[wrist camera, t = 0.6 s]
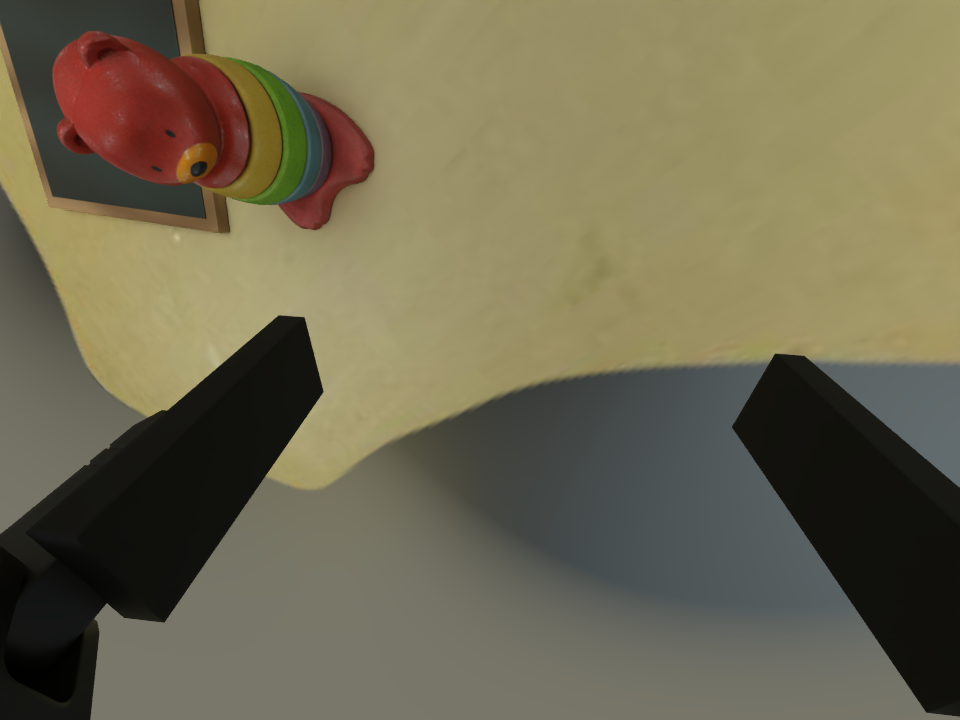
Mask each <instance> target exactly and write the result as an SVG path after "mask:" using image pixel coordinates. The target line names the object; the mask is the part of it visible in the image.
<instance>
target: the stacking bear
mask: <svg viewBox="0 0 960 720" xmlns="http://www.w3.org/2000/svg"><path fill="white" fill-rule="evenodd" d="M53 86H54V90H55V94H56V98H57V101H58V103H59V106H60V108H61V110H62V112H63V114H64V118H63V119H62V120H61V121H60V122H59V123H58V125H57V134H58V137H59V139H60V141H61V143H62V144H63V145H64V146H65V147H66V148H68V149H69V150H70V151H72V152H74V153H77V154H92V153H97V154H98V155H99V156H101V157H102V158H103V159H105V160H106V161H108V162H109V163H111V164H112V165H114V166H115V167H117V168H119V169H121V170H123V171H125V172H127V173H129V174H131V175H133V176H136V177H138V178H141V179H144V180H147V181H150V182H153V183H157V184H162V185H171V186H177V185H183V184H188V183H192V182H193V183H195V184H197V185H198V186H200V187H202V188H204V189H206V190H209V191H211V192H214V193H217V194H220V195H223V196H227V197H230V198H232V199H235V200H239V201H243V202H247V203H252V204H258V205H276V204H278V205H279V206H280V208H281V209H282V210H283V211H284V213H285V214H286V215H287V216H288V217H289V218H290V219H291V220H292V221H293V222H294V223H295V224H296V225H297V226H299V227H301V228H304V229H313V230H317V229H319V228H320V227H321V226H322V225H323V224H325V223H326V222H327V221H328V219H329V216H330V210H331V205H332V202H333V200H334V198H335V196H336V195H337V193H338V192H339V191H340V190H341V189H342V188H344V187H345V186H347V185H350V184H355V183H360V182H362V181H364V180H365V179H366V178H367V176H368V174H369V173H370V172H371V171H372V170H373V156H374V155H373V149H372V147H371V144H370V142H369V141H368V139H367V138H366V137H365V135H364V134H363V132H362V131H361V130H360V129H359V127H358V126H357V125H356V124H355V123H354V122H353V121H352V120H351V119H350V118H349V117H348V116H347V115H346V114H345V113H343V112H342V111H341V110H340V109H338V108H337V107H335V106H334V105H332V104H331V103H329V102H327V101H325V100H323V99H321V98H318V97H315V96H312V95H309V94H305V93H300V92H297V91H296V90H294V89H293V88H292V87H291V86H290V85H288V84H287V83H286V82H285V81H283V80H282V79H280V78H279V77H277V76H276V75H274V74H273V73H271V72H269V71H267V70H265V69H263V68H262V67H259V66H257V65H255V64H252V63H249V62H245V61H242V60H238V59H234V58H228V57H220V56H214V55H207V54H186V55H183V56H179V57H175V58H172V59H170V60H169V59H168V58H166V57H165V56H163V55H162V54H160V53H158V52H157V51H155V50H154V49H152V48H150V47H148V46H146V45H144V44H141V43H139V42H136V41H134V40H131V39H128V38H125V37H121V36H115V35H109V34H106V33H104V32H101V31H88V32H86V33H84V34H82V35H81V36H80V38H79V39H76V40H74V41H72V42H71V43H69V44H68V45H67V46H65V47H64V48H63V49H62V50H61V51H60V53H59V54H58V56H57V58H56V60H55V63H54V66H53Z"/></svg>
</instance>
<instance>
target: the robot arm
mask: <svg viewBox="0 0 960 720" xmlns="http://www.w3.org/2000/svg"><path fill="white" fill-rule="evenodd" d="M322 393H323V388H322V384H321V380H320V376H319V372H318V368H317V364H316V360H315V356H314V352H313V349H312V345H311V341H310V337H309V333H308V329H307V325H306V321H305V317H293V316H280V315H279V316H278V317H276V318H275V319H274V320H273V321H272V322H270V323H269V324H268V325H267V326H266V327H265V328H263V329H262V330H261V331H260V332H259V333H258V334H256V335H255V336H254V337H253V338H252V339H251V340H249V341H248V342H247V343H246V344H245V345H244V346H242V347H241V348H240V349H239V350H238V351H237V352H235V353H234V354H233V355H232V356H231V357H230V358H228V359H227V360H226V361H225V362H224V363H223V364H221V365H220V366H219V367H218V368H217V369H216V370H214V371H213V372H212V373H211V374H210V375H209V376H207V377H206V378H205V379H204V380H203V381H202V382H200V383H199V384H198V385H197V386H196V387H195V388H193V389H192V390H191V391H190V392H189V393H188V394H186V395H185V396H184V397H183V398H182V399H181V400H179V401H178V402H177V403H176V404H175V405H174V406H172V407H171V408H170V409H169V410H168V411H165V410H161V411H159V412H158V413H156V414H154V415H152V416H150V417H148V418H147V419H145V420H143V421H141V422H139V423H137V424H135V425H134V426H132V427H131V428H130V429H129V430H127V431H126V432H125V433H124V434H123V435H121V436H120V437H119V438H118V439H116V440H115V441H114V442H113V443H112V444H110V448H109V449H104V450H103V451H102V452H101V453H99V454H98V455H97V456H96V457H94V458H93V459H92V460H91V461H90V464H89V465H85V466H83V467H82V468H81V469H80V470H79V471H77V472H76V473H75V474H74V475H73V476H71V477H70V478H69V479H68V480H66V481H65V482H64V483H63V484H61V485H60V486H59V487H58V488H57V489H55V490H54V491H53V492H52V493H50V494H49V495H48V496H47V497H46V498H45V499H43V500H42V501H41V502H40V503H38V504H37V505H36V506H35V507H33V508H32V509H31V510H30V511H29V512H27V513H26V514H25V515H24V516H22V518H20V519H19V520H18V521H16V522H15V523H14V524H13V525H12V526H10V527H9V528H8V529H7V530H5V531H4V532H3V533H1V534H0V720H90V717H91V707H92V697H93V688H94V679H95V669H96V660H97V651H98V641H99V628H98V623H97V621H96V620H95V619H94V618H95V617H96V615H97V614H98V613H99V612H100V610H101V609H102V608H103V607H104V606H105V605H106V603H108V604H109V605H110V606H111V607H112V608H113V609H115V610H116V611H117V612H118V613H119V614H120V615H122V616H123V617H124V618H131V619H139V620H147V621H156V622H165V621H166V619H167V618H168V617H169V615H170V614H171V612H172V611H173V609H174V608H175V606H176V605H177V604H178V602H179V601H180V599H181V598H182V596H183V595H184V593H185V592H186V590H187V589H188V588H189V586H190V585H191V583H192V582H193V580H194V579H195V577H196V576H197V575H198V573H199V572H200V570H201V569H202V567H203V566H204V564H205V563H206V561H207V560H208V559H209V557H210V556H211V554H212V553H213V551H214V550H215V548H216V547H217V546H218V544H219V543H220V541H221V540H222V538H223V537H224V535H225V534H226V532H227V531H228V529H229V528H230V527H231V525H232V524H233V522H234V521H235V519H236V518H237V517H238V515H239V514H240V512H241V510H242V509H243V508H244V506H245V505H246V504H247V502H248V500H249V499H250V498H251V496H252V495H253V493H254V492H255V490H256V489H257V487H258V486H259V484H260V483H261V482H262V480H263V479H264V477H265V476H266V475H267V473H268V472H269V470H270V469H271V467H272V466H273V464H274V463H275V461H276V460H277V459H278V457H279V456H280V454H281V453H282V451H283V450H284V448H285V447H286V446H287V444H288V443H289V441H290V440H291V438H292V437H293V435H294V434H295V433H296V431H297V430H298V428H299V427H300V425H301V424H302V422H303V421H304V419H305V418H306V417H307V415H308V414H309V412H310V411H311V409H312V408H313V406H314V405H315V404H316V402H317V401H318V399H319V398H320V396H321V395H322ZM732 428H733V429H734V431H735V432H736V434H737V435H738V437H739V438H740V439H741V441H742V443H743V444H744V446H745V447H746V449H748V451H749V453H750V454H751V456H752V457H753V459H754V460H755V462H756V463H757V465H758V466H759V468H760V469H761V471H762V472H763V473H764V475H765V476H766V478H767V479H768V481H769V482H770V484H771V485H772V486H773V488H774V490H775V491H776V493H777V494H778V495H779V497H780V498H781V500H782V501H783V503H784V504H785V506H786V507H787V509H788V510H789V511H790V513H791V514H792V516H793V517H794V519H795V520H796V522H797V523H798V525H799V526H800V528H801V529H802V531H803V532H804V533H805V535H806V537H807V538H808V539H809V541H810V542H811V544H812V545H813V547H814V548H815V550H816V551H817V553H818V554H819V555H820V557H821V559H822V560H823V562H824V563H825V564H826V566H827V567H828V569H829V570H830V572H831V573H832V575H833V576H834V578H835V579H836V581H837V582H838V583H839V585H840V586H841V588H842V589H843V591H844V592H845V594H846V595H847V597H848V598H849V600H850V601H851V603H852V604H853V606H854V607H855V608H856V610H857V611H858V613H859V614H860V616H861V617H862V619H863V620H864V622H865V623H866V625H867V626H868V628H869V629H870V630H871V632H872V633H873V635H874V636H875V638H876V639H877V641H878V642H879V644H880V645H881V647H882V648H883V650H884V651H885V653H886V654H887V655H888V657H889V658H890V660H891V661H892V663H893V664H894V666H895V667H896V669H897V670H898V672H899V673H900V675H901V676H902V677H903V679H904V680H905V682H906V683H907V685H908V686H909V688H910V689H911V690H912V692H913V694H914V695H915V697H916V698H917V699H918V701H919V702H920V704H921V705H922V707H923V708H924V710H925V711H926V712H927V713H935V714H943V715H952V716H960V487H958V486H957V485H956V484H954V483H953V482H952V481H951V480H950V479H948V478H947V477H946V476H945V475H944V474H943V473H941V472H940V471H939V470H938V469H937V468H935V467H934V466H933V465H932V464H931V463H930V462H929V461H927V460H926V459H925V458H924V457H923V456H921V455H920V454H919V453H918V452H917V451H916V450H914V449H913V448H912V447H911V446H910V445H909V444H907V443H906V442H905V441H904V440H903V439H901V438H900V437H899V436H898V435H897V434H896V433H894V432H893V431H892V430H891V429H890V428H888V427H887V426H886V425H885V424H884V423H883V422H881V421H880V420H879V419H878V418H877V417H876V416H874V415H873V414H872V413H871V412H870V411H869V410H867V409H866V408H865V407H864V406H863V405H861V404H860V403H859V402H858V401H857V400H856V399H854V398H853V397H852V396H851V395H850V394H849V393H847V392H846V391H845V390H844V389H843V388H841V387H840V386H839V385H838V384H837V383H836V382H834V381H833V380H832V379H831V378H830V377H829V376H827V375H826V374H825V373H824V372H823V371H821V370H820V369H819V368H818V367H817V366H816V365H814V364H813V363H812V362H811V361H810V360H809V359H807V358H806V357H805V356H799V355H786V354H775V355H774V356H773V358H772V360H771V362H770V363H769V365H768V367H767V368H766V370H765V372H764V373H763V375H762V377H761V379H760V380H759V382H758V384H757V385H756V387H755V389H754V390H753V392H752V394H751V396H750V398H749V399H748V401H747V402H746V404H745V406H744V408H743V409H742V411H741V413H740V414H739V416H738V418H737V420H736V421H735V423H734V424H733V426H732Z"/></svg>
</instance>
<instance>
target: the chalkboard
mask: <svg viewBox="0 0 960 720" xmlns="http://www.w3.org/2000/svg"><path fill="white" fill-rule="evenodd" d="M88 31H101V32H104V33H106V34H109V35H115V36H121V37H125V38H128V39H131V40H134V41H136V42H139V43H141V44H144V45H146V46H148V47H150V48H152V49H154V50H155V51H157V52H158V53H160V54H162V55H163V56H165V57H166V58H168V59H169V60H170V59H172V58H175V57H179V56H183V55H186V54H205V49H204V42H203V35H202V27H201V20H200V13H199V5H198V0H0V48H1V51H2V54H3V57H4V61H5V64H6V67H7V70H8V74H9V77H10V80H11V83H12V87H13V90H14V93H15V97H16V100H17V103H18V106H19V110H20V113H21V116H22V119H23V123H24V126H25V129H26V132H27V136H28V139H29V142H30V145H31V149H32V152H33V155H34V158H35V162H36V165H37V168H38V171H39V175H40V178H41V181H42V184H43V188H44V191H45V194H46V197H47V201H48V204H49V207H53V208H59V209H66V210H72V211H79V212H85V213H92V214H98V215H105V216H112V217H118V218H125V219H131V220H138V221H144V222H151V223H157V224H164V225H170V226H177V227H184V228H190V229H197V230H203V231H210V232H216V233H227V232H230V231H229V223H228V216H227V209H226V202H225V196H223V195H220V194H217V193H214V192H211V191H209V190H206V189H204V188H202V187H200V186H198V185H197V184H195V183H193V182H192V183H188V184H183V185H177V186H171V185H162V184H157V183H153V182H150V181H147V180H144V179H141V178H138V177H136V176H133V175H131V174H129V173H127V172H125V171H123V170H121V169H119V168H117V167H115V166H114V165H112V164H111V163H109V162H108V161H106V160H105V159H103V158H102V157H101V156H99V155H98V154H97V153H92V154H77V153H74V152H72V151H70V150H69V149H68V148H66V147H65V146H64V145H63V144H62V143H61V141H60V139H59V137H58V134H57V125H58V123H59V122H60V121H61V120H62V119H63V118H64V114H63V112H62V110H61V108H60V106H59V103H58V101H57V98H56V94H55V90H54V86H53V66H54V63H55V60H56V58H57V56H58V54H59V53H60V51H61V50H62V49H63V48H64V47H65V46H67V45H68V44H69V43H71V42H72V41H74V40H76V39H79V38H80V36H81V35H82V34H84V33H86V32H88Z"/></svg>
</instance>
